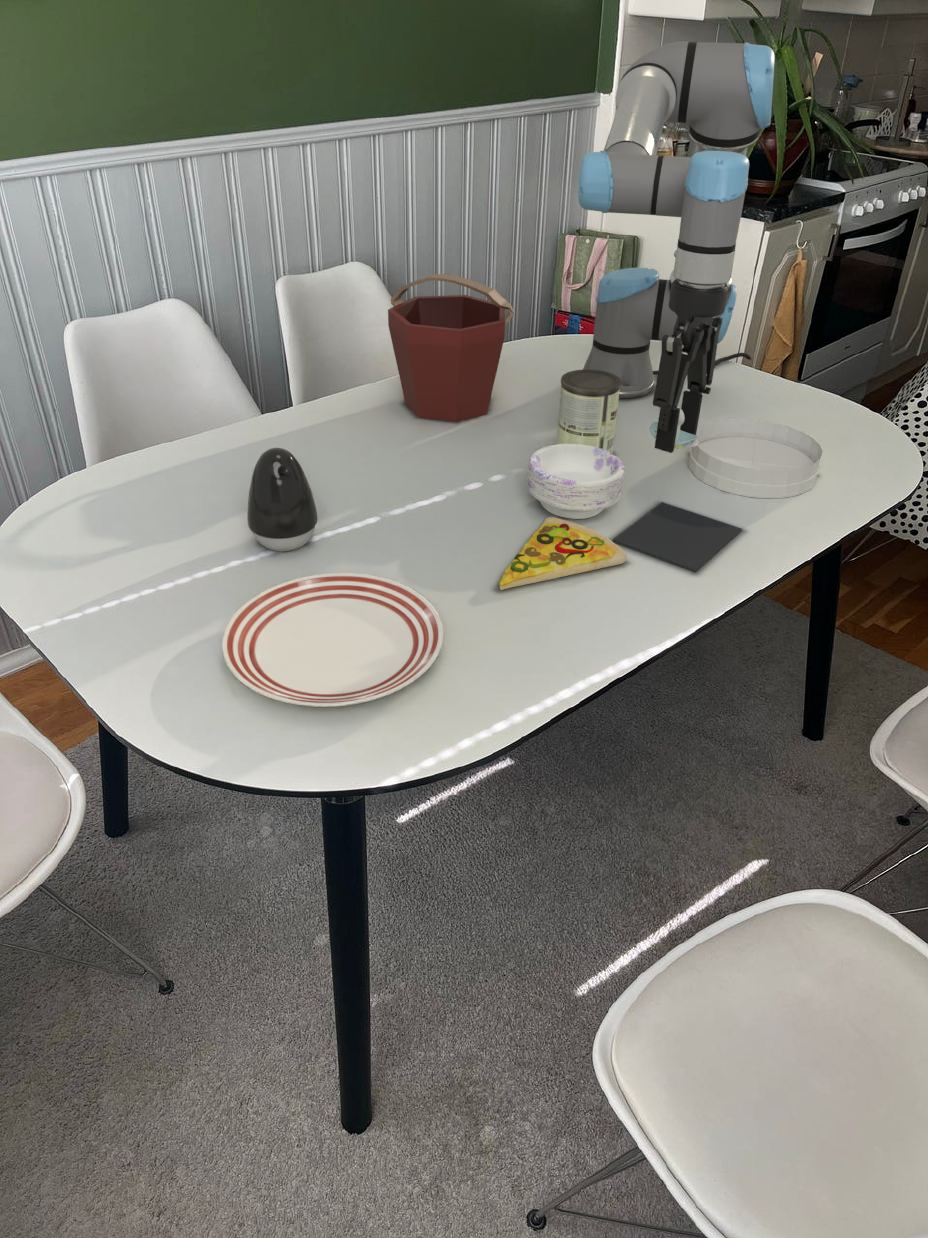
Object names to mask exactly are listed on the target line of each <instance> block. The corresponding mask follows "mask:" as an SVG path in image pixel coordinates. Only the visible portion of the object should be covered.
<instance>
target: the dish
mask: <svg viewBox="0 0 928 1238" xmlns="http://www.w3.org/2000/svg"><path fill="white" fill-rule="evenodd" d="M696 436H697V438H696V439H697V440H698V442H699V445H698V446H696V447H689V448H690V449H689V455H688V460H687V462H688V469H689V470H690V472H691V473H692V474H693V476H695V478H697V479H698V480H700V481H701V482H702V483H704V484H706V485H708V486H710V487H712V488H714V489H717V490H720V491H723V492H726V493H728V494H732V495H736V496H737V495H738V496H742V497H747V498H758V499H785V498H790V497H795V496H800V495H802V494H804V493H806V492H809V491H810V490H811V489H813V487H814V486H815V485H816V483H817V478H818V474H819V472H820V468H821V467H820V461H821V458H822V455H823V449H822V447H821V444H820V443H819V442H818V441H816V440H815V438H813V436H810V435H809V434H807V433H805V432H804V431H801V430H799V429H796V428H794V427H792V426H788V425H785V424H781V423H778V422H775V421H767V420H762V419H751V418H726V419H718V420H714V421H710V422H708V423H704V424H703V425H701V426H700V427H697V432H696Z"/></svg>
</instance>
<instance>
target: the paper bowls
mask: <svg viewBox="0 0 928 1238" xmlns="http://www.w3.org/2000/svg"><path fill="white" fill-rule="evenodd" d="M625 471H626V468H625V464H624V463H623V461H622V460H621V459H620V458H619V457H618V456H617V455H615V454H614V453H613V454H612V453H610V452H608V451H606V450H603V449H600V448H597V447H593V446H588V445H582V444H557V443H556V444H550V445H546V446H542V447H540V448H538V449H537V450H535V451H534V452H532V453H531V455H530V457H529V460H528V470H527V480H526V481H527V483H526V485H527V490H528V492H529V493H530V494H531V496H532V497H533V498H534V499H536V500H537V501H539V502H540V504H541V506H542V507H543V509H545V510H546V511H547V512H549V513H550V514H553V515H554V516H557V517H560V518H564V519H571V520H584V519H589V518H593V517H595V516H597V515H599V514H601V513H602V512H603V511H604V510H605V509H607V508H609V507H612V506H614V505H615V504H617V502H619V500H620V499H621V496H622V492H623V484H624V477H625Z"/></svg>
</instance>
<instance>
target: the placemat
mask: <svg viewBox="0 0 928 1238" xmlns="http://www.w3.org/2000/svg"><path fill="white" fill-rule="evenodd" d="M742 531H743V528H742V527H738V526H735V525H732V524H729V523H726V522H723V521H721V520H717V519H714V518H711V517H708V516H704V515H703V514H699V513H696V512H693V511H691V510H687V509H684V508H681V507H678V506H675V505H673V504H669V503H666V502H664V501H662V502H660V503H659V504H658V505H656V506H655V507H654V508H653V509H651V510H650V511H649V512H647V513H646V514H645V515H643V516H642V517H641V518H640V519H638V520H637V521H635V522H633V524H631V525H630V526H629V527H628V528H626V529H624V531H622V532H621V533H619V534H618V535H617V536H616V537H615V538H613V539H612V542H613V543H615V544H616V545H621V546H623V547H625V548H628V549H632V550H634V551H637V552H639V553H641V554H645V555H647V556H650V557H653V558H656V559H658V560H661V561H664V562H667V563H669V564H673V565H674V566H677V567H680V568H683V569H686V570H689V571H691V572H694V573H697V572H698V571H699V570H700V569H701V568H702V567H703V566H705V565H706V564H707V563H708V562H709V561H710V560H711V559H713V557H715V556H716V555H717V554H718V553H719V552H720V551H721V550H722V549H724V548H725V547H726V546H727V545H728V544H729V543H730V542H731V541H732V540H733V539H735V538H736V537H737V536H738V535H739V534H740V533H742Z"/></svg>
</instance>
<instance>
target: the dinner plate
mask: <svg viewBox="0 0 928 1238" xmlns="http://www.w3.org/2000/svg"><path fill="white" fill-rule="evenodd" d="M444 634H445V633H444V626H443V622H442V619H441V617H440V614H439V613H438V611H437V609H436V608H435V607H434V606H433V604H432V603H431V602H430V601H429V600H428V599H427V598H425V597H424V596H423V595H422V594H420V593H419V592H418V591H416V590H414V588H411V587H409V586H407V585H405V584H402V583H401V582H398V581H395V580H393V579H390V578H386V577H382V576H377V575H374V574H373V575H372V574H366V573H355V572H333V573H330V572H329V573H321V574H313V575H308V576H303V577H297V578H294V579H291V580H288V581H284V582H282V583H279V584H276V585H274V586H271V587H270V588H267V589H266V590H264V591H261V592H259V594H256V595H255V596H253V597H252V598H250V599H248V601H246V602H245V603H244V604H243V605H242V606H240V607H239V608H238V609H237V611H236V612H235V613H234V614H233V615H232V616H231V618H230V619H229V621H228V623H227V625H226V627H225V629H224V632H223V635H222V643H221V644H222V655H223V659H224V661H225V664H226V666H227V668H228V669H229V671H230V673H232V674H233V676H234V677H235V678H236V679H237V680H238V681H239V682H241V684H243V685H244V686H246V687H247V688H248V689H250V690H252V691H254V692H255V693H257V694H260V695H261V696H264V697H265V698H266V697H267V698H269V699H272V700H275V701H278V702H282V703H287V704H292V705H296V706H305V707H317V708H321V707H322V708H324V707H326V708H330V707H331V708H332V707H343V706H345V707H346V706H351V705H358V704H363V703H368V702H371V701H375V700H379V699H382V698H384V697H387V696H389V695H392V694H394V693H396V692H398V691H400V690H402V689H404V688H406V687H407V686H409V685H410V684H412V683H413V682H415V681H416V680H418V679H419V678H420V677H421V676H422V675H424V673H426V671H427V670H428V669H429V668H431V666H432V665H433V664H434V662H435V661H436V659H437V658H438V656H439V654H440V652H441V649H442V646H443V642H444V636H445V635H444Z"/></svg>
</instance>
